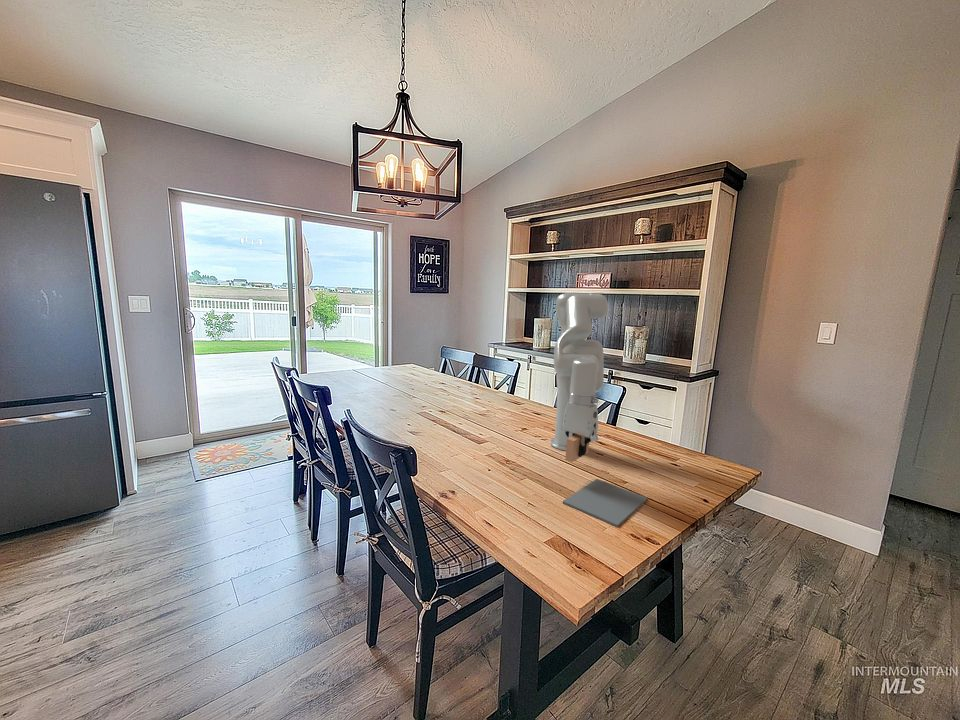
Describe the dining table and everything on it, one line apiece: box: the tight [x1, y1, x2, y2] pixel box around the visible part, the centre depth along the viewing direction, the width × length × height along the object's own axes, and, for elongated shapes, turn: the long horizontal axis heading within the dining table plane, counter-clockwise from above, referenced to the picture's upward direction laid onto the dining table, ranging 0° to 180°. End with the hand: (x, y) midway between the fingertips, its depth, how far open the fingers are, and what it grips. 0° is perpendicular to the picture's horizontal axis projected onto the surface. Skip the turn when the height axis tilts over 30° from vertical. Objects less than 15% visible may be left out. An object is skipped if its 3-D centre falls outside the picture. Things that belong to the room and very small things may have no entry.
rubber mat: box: [562, 478, 648, 528], centre depth 112 cm, size 20×16×1 cm
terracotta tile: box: [565, 434, 590, 463], centre depth 124 cm, size 10×2×7 cm, turn 136°
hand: (577, 453), depth 125 cm, fingers closed on terracotta tile, 2 cm apart
